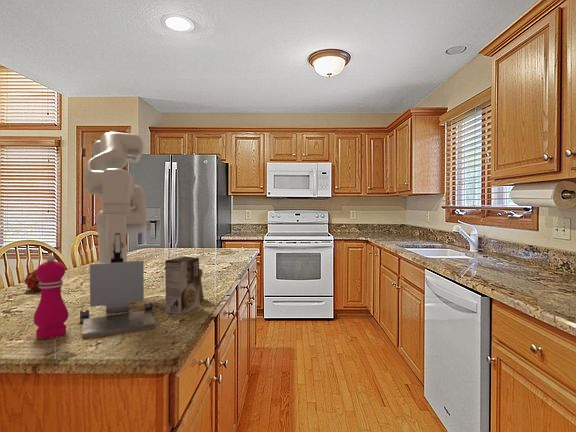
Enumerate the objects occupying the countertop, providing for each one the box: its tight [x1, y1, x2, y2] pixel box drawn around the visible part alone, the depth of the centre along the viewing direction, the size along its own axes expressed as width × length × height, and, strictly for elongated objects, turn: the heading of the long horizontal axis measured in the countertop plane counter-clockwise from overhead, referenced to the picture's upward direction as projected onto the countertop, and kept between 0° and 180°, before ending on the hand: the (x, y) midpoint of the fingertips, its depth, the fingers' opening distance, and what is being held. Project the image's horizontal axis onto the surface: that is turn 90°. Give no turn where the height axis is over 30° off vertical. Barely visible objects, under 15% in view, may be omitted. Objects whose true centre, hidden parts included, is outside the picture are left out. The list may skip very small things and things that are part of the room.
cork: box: [199, 267, 205, 302], centre depth 123 cm, size 6×6×11 cm
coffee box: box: [164, 256, 200, 315], centre depth 110 cm, size 9×6×16 cm
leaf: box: [89, 260, 145, 316], centre depth 103 cm, size 15×14×2 cm
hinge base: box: [79, 302, 157, 339], centre depth 97 cm, size 17×19×3 cm
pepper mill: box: [33, 254, 69, 339], centre depth 88 cm, size 7×7×20 cm
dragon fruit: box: [24, 269, 41, 292], centre depth 137 cm, size 8×8×12 cm
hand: (117, 271), depth 105 cm, fingers closed
